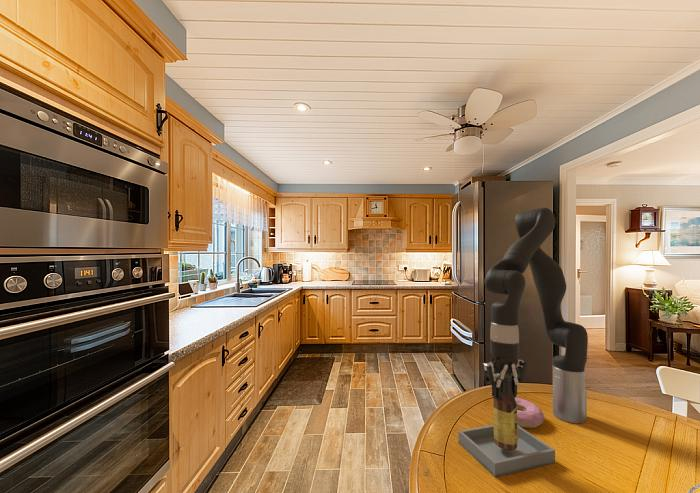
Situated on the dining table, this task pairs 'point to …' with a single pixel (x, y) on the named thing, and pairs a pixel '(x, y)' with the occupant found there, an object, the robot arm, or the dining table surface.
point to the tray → (506, 451)
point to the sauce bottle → (505, 416)
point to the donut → (528, 414)
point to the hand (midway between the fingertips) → (504, 397)
